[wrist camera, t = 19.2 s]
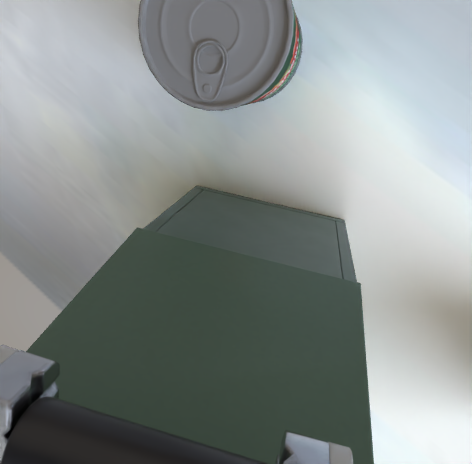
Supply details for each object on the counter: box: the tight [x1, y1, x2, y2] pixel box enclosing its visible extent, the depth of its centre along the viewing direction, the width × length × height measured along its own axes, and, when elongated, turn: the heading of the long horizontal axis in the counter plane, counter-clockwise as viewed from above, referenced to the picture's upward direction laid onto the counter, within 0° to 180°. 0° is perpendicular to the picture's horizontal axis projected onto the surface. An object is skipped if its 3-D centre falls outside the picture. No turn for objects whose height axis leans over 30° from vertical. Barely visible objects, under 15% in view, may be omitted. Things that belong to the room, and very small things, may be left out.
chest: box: [144, 186, 357, 282], centre depth 31 cm, size 16×13×12 cm
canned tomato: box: [138, 0, 302, 111], centre depth 25 cm, size 8×8×11 cm
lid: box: [1, 228, 374, 464], centre depth 14 cm, size 16×13×5 cm
